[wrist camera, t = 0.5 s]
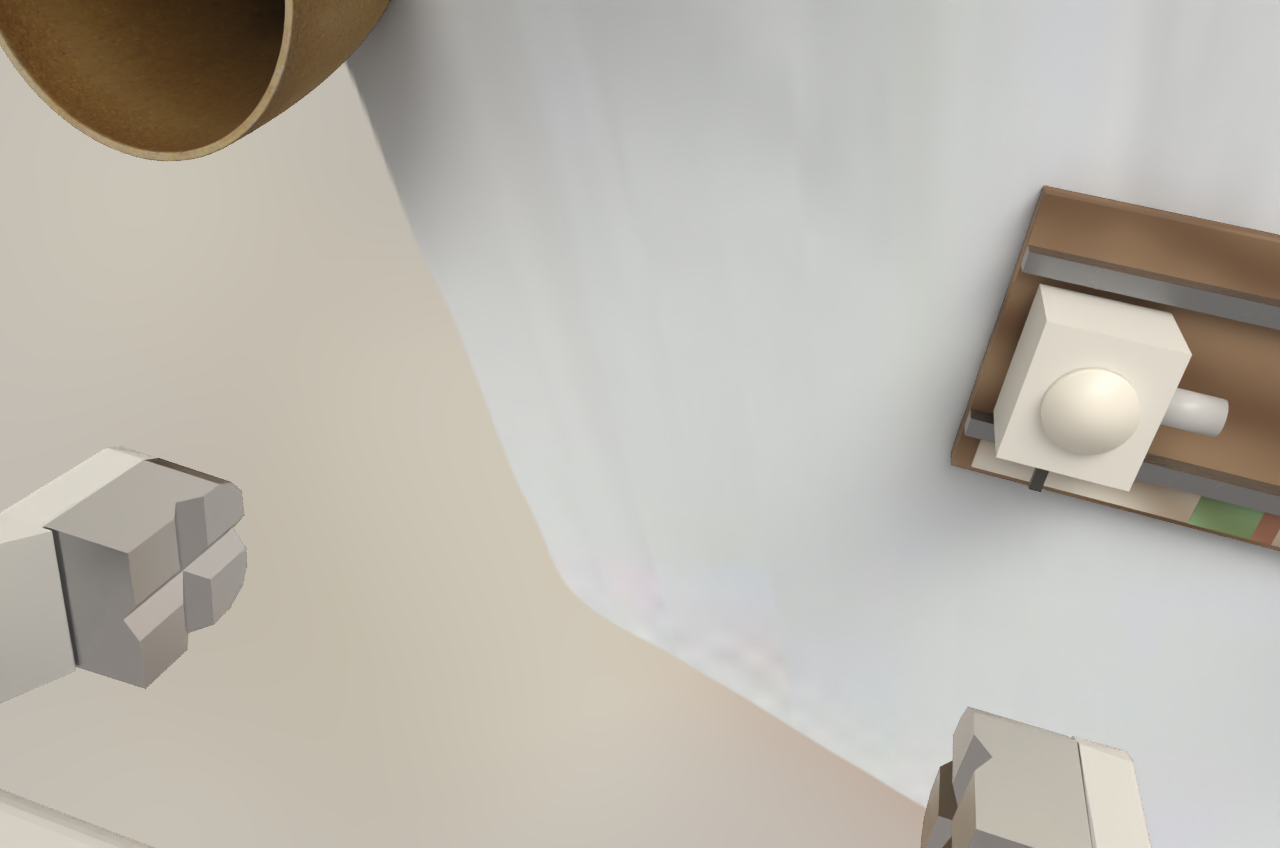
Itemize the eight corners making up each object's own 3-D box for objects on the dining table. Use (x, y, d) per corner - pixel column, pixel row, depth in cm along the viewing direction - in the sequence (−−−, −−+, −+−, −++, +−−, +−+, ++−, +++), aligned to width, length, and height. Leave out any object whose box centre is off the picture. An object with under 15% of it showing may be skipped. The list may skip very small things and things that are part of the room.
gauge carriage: (1039, 283, 48) (1047, 326, 43) (1239, 328, 46) (1271, 378, 41) (974, 461, 53) (975, 517, 48) (1153, 508, 51) (1172, 570, 46)
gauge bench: (1043, 185, 48) (1046, 194, 46) (1660, 314, 43) (1685, 329, 42) (951, 451, 55) (950, 466, 54) (1469, 586, 50) (1484, 607, 49)
